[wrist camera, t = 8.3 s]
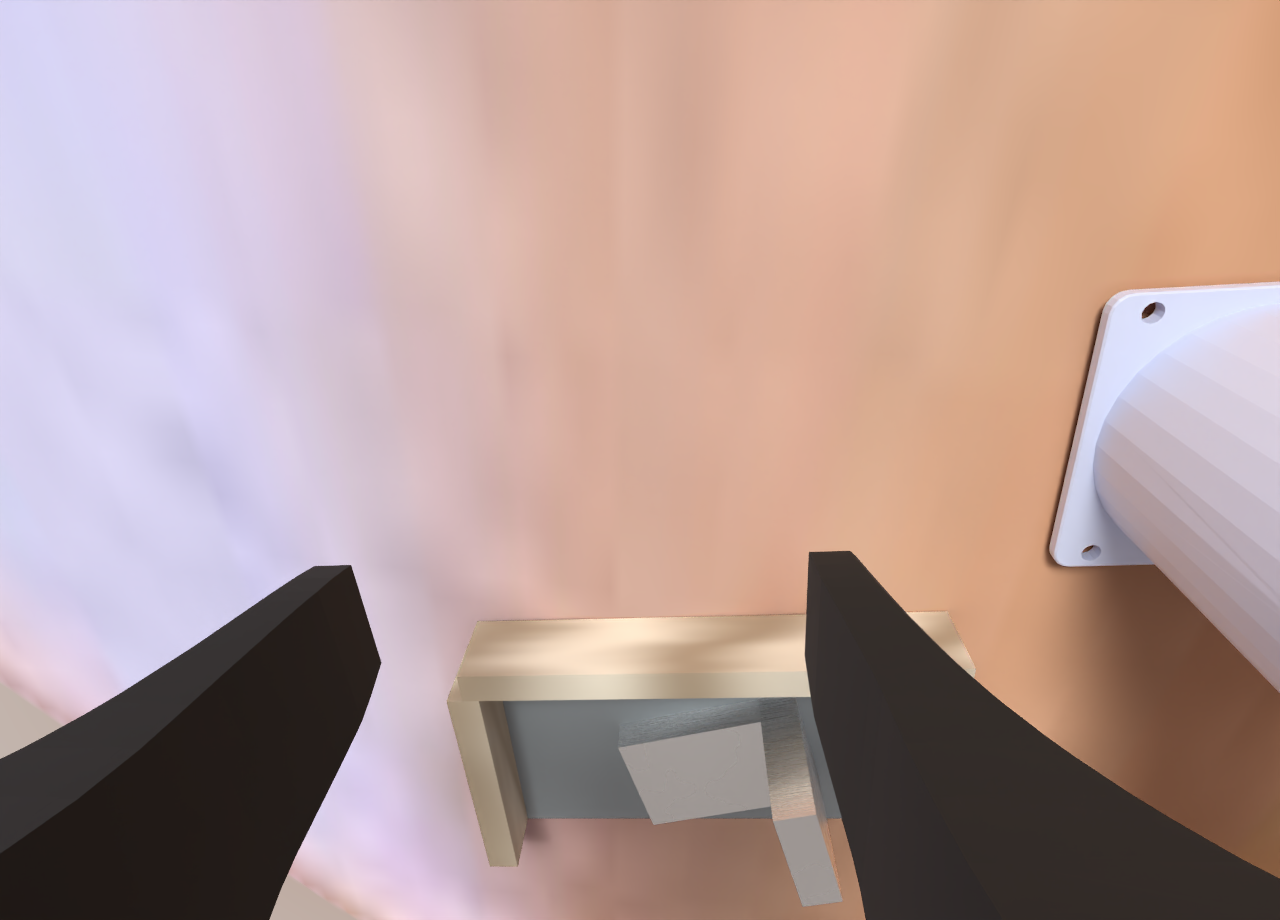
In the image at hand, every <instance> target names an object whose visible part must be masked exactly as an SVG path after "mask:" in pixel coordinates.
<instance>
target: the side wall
mask: <svg viewBox="0 0 1280 920" xmlns="http://www.w3.org/2000/svg"><path fill="white" fill-rule="evenodd" d="M467 648H468V647H467ZM466 650H467V649H466ZM465 653H466V652H465ZM464 656H465V654H464ZM463 658H464V657H463ZM462 661H463V660H462ZM461 664H462V662H461ZM460 666H461V665H460ZM459 669H460V668H459ZM458 672H459V670H458ZM457 674H458V673H457ZM447 705H448V709H449V712H450V716H451V720H452V724H453V728H454V731H455V735H456V739H457V743H458V747H459V750H460V754H461V758H462V762H463V766H464V769H465V773H466V777H467V781H468V785H469V788H470V792H471V796H472V800H473V803H474V807H475V811H476V815H477V819H478V822H479V826H480V830H481V834H482V838H483V841H484V845H485V849H486V853H487V857H488V860H489V864H490V866H502V867H518V863H519V858H520V853H521V849H522V844H523V839H524V834H525V830H526V825H527V820H528V817H527V812H526V807H525V803H524V798H523V794H522V789H521V784H520V780H519V775H518V770H517V766H516V761H515V756H514V752H513V747H512V742H511V738H510V733H509V729H508V724H507V719H506V715H505V710H504V705H503V701H462V697H461V693H460V689H459V685H458V681H457V676H456V678H455V681H454V683H453V686H452V689H451V691H450V694H449V697H448V699H447Z"/></svg>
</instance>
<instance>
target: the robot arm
mask: <svg viewBox="0 0 1280 920" xmlns="http://www.w3.org/2000/svg"><path fill="white" fill-rule="evenodd" d="M1154 302H1156V308H1155V310H1154V312H1153V313H1152V314H1151V315H1150V316H1149V317H1147V318H1143V319H1142V312H1143V310H1144V308H1145V307H1147V306H1148V305H1149V304H1151V303H1154ZM1091 545H1094V546H1093V548H1092V549H1091V550H1089V551H1088V552H1083V553H1082V551H1083V550H1084V549H1085V548H1086V547H1088V546H1091ZM1049 552H1050V554H1051V556H1052V557H1053V558H1054V560H1055V561H1056V562H1057V563H1058V564H1060V565H1062V566H1067V567H1076V566H1115V565H1153V564H1155V565H1156V566H1157V567H1158V568H1159V569H1160V570H1161V571H1162V572H1163V573H1164V574H1165V575H1166V577H1167V578H1168V579H1169V580H1170V581H1171V582H1172V583H1173V584H1174V585H1175V586H1176V587H1177V588H1178V589H1179V590H1180V591H1181V592H1182V593H1183V594H1184V595H1185V596H1186V597H1187V598H1188V599H1189V600H1190V601H1191V602H1192V603H1193V604H1194V605H1195V606H1196V607H1197V608H1198V609H1199V610H1200V612H1201V613H1202V614H1203V615H1204V616H1205V617H1206V618H1207V619H1208V620H1209V621H1210V622H1211V623H1212V624H1213V625H1214V626H1215V627H1216V628H1217V629H1218V630H1219V631H1220V632H1221V633H1222V634H1223V635H1224V636H1225V637H1226V638H1227V639H1228V640H1229V641H1230V642H1231V643H1232V644H1233V645H1234V647H1235V648H1236V649H1237V650H1238V651H1239V652H1240V653H1241V654H1242V655H1243V656H1244V657H1245V658H1246V659H1247V660H1248V661H1249V662H1250V663H1251V664H1252V665H1253V666H1254V667H1255V668H1256V669H1257V670H1258V671H1259V672H1260V673H1261V674H1262V675H1263V676H1264V677H1265V678H1266V679H1267V680H1268V681H1269V683H1270V684H1271V685H1272V686H1273V687H1274V688H1275V689H1276V690H1277V691H1278V692H1279V693H1280V282H1263V283H1245V284H1227V285H1208V286H1190V287H1172V288H1153V289H1135V290H1126V291H1122V292H1119V293H1117V294H1116V295H1114V296H1112V297H1111V298H1110V300H1109V301H1108V302H1107V303H1106V304H1105V307H1104V309H1103V312H1102V316H1101V321H1100V325H1099V329H1098V334H1097V338H1096V343H1095V347H1094V352H1093V356H1092V360H1091V365H1090V369H1089V374H1088V378H1087V383H1086V387H1085V391H1084V396H1083V400H1082V405H1081V409H1080V414H1079V418H1078V422H1077V427H1076V431H1075V436H1074V440H1073V445H1072V449H1071V453H1070V458H1069V462H1068V467H1067V471H1066V476H1065V480H1064V484H1063V489H1062V493H1061V498H1060V502H1059V507H1058V511H1057V515H1056V520H1055V524H1054V529H1053V533H1052V538H1051V542H1050V546H1049ZM805 662H806V669H807V675H808V682H809V689H810V695H811V701H812V708H813V714H814V719H815V722H816V726H817V730H818V734H819V737H820V741H821V745H822V748H823V752H824V756H825V759H826V763H827V767H828V770H829V774H830V777H831V781H832V785H833V788H834V792H835V795H836V799H837V803H838V806H839V810H840V813H841V817H842V821H843V824H844V828H845V831H846V835H847V839H848V842H849V846H850V849H851V853H852V857H853V861H854V865H855V869H856V873H857V878H858V882H859V886H860V891H861V896H862V901H863V907H864V912H865V918H866V920H1280V879H1279V878H1277V877H1275V876H1273V875H1271V874H1269V873H1267V872H1265V871H1264V870H1262V869H1260V868H1258V867H1256V866H1254V865H1252V864H1250V863H1248V862H1246V861H1244V860H1242V859H1241V858H1239V857H1237V856H1235V855H1233V854H1232V853H1230V852H1228V851H1226V850H1224V849H1223V848H1221V847H1219V846H1218V845H1216V844H1214V843H1212V842H1211V841H1209V840H1207V839H1205V838H1204V837H1202V836H1200V835H1198V834H1197V833H1195V832H1193V831H1192V830H1190V829H1188V828H1186V827H1185V826H1183V825H1181V824H1179V823H1178V822H1176V821H1174V820H1172V819H1171V818H1169V817H1167V816H1166V815H1164V814H1162V813H1161V812H1159V811H1158V810H1156V809H1154V808H1153V807H1151V806H1149V805H1148V804H1146V803H1145V802H1143V801H1141V800H1140V799H1138V798H1136V797H1135V796H1133V795H1132V794H1130V793H1128V792H1127V791H1125V790H1124V789H1122V788H1121V787H1119V786H1118V785H1116V784H1115V783H1113V782H1112V781H1110V780H1109V779H1107V778H1106V777H1104V776H1103V775H1101V774H1100V773H1098V772H1097V771H1095V770H1094V769H1092V768H1091V767H1089V766H1088V765H1086V764H1085V763H1083V762H1082V761H1080V760H1079V759H1077V758H1076V757H1074V756H1073V755H1071V754H1070V753H1069V752H1067V751H1066V750H1064V749H1063V748H1062V747H1060V746H1059V745H1057V744H1056V743H1055V742H1053V741H1052V740H1050V739H1049V738H1048V737H1046V736H1045V735H1044V734H1042V733H1041V732H1040V731H1038V730H1037V729H1036V728H1034V727H1033V726H1032V725H1031V724H1029V723H1028V722H1027V721H1025V720H1024V719H1023V718H1022V717H1020V716H1019V715H1018V714H1016V713H1015V712H1014V711H1012V710H1011V709H1010V708H1009V707H1007V706H1006V705H1005V704H1003V703H1002V702H1001V701H1000V700H999V699H997V698H996V697H995V696H994V695H992V694H991V693H990V692H989V691H988V690H987V689H985V688H984V687H983V686H982V685H981V684H980V683H979V682H977V681H976V680H975V679H974V678H973V677H972V676H971V675H970V674H969V673H967V672H966V671H965V670H964V669H963V668H962V667H961V666H960V665H959V664H957V663H956V662H955V661H954V660H953V659H952V658H951V657H950V656H949V655H948V654H947V653H946V652H945V651H944V650H943V649H942V648H941V647H940V646H939V645H938V644H937V643H936V642H935V641H934V640H933V639H932V638H931V637H930V636H929V635H928V634H927V633H926V632H925V631H924V630H923V629H922V628H921V627H920V626H919V625H918V624H917V623H916V622H915V621H914V620H913V619H912V618H911V617H910V616H909V615H908V614H907V613H906V612H905V611H904V610H903V609H902V608H901V607H900V605H899V604H898V603H897V602H896V601H895V600H894V599H893V598H892V597H891V596H890V595H889V593H888V592H887V591H886V590H885V589H884V588H883V587H882V586H881V584H880V583H879V582H878V581H877V580H876V579H875V578H874V577H873V575H872V574H871V573H870V572H869V571H868V570H867V568H866V567H865V566H864V565H863V564H862V563H861V562H860V560H859V559H858V558H857V557H856V556H855V555H854V554H853V553H852V552H851V551H832V552H809V565H808V588H807V611H806V634H805ZM380 665H381V660H380V657H379V654H378V651H377V647H376V644H375V641H374V638H373V634H372V631H371V628H370V625H369V622H368V618H367V615H366V612H365V609H364V605H363V602H362V599H361V596H360V592H359V589H358V586H357V583H356V580H355V576H354V573H353V570H352V567H351V565H339V566H314V567H312V568H311V569H309V570H307V571H305V572H304V573H302V574H300V575H299V576H297V577H295V578H294V579H292V580H291V581H289V582H288V583H286V584H285V585H283V586H282V587H280V588H279V589H277V590H276V591H274V592H273V593H271V594H270V595H268V596H267V597H265V598H264V599H262V600H261V601H259V602H258V603H257V604H255V605H254V606H252V607H251V608H249V609H248V610H246V611H245V612H243V613H242V614H241V615H239V616H238V617H236V618H235V619H233V620H232V621H230V622H229V623H227V624H226V625H224V626H223V627H222V628H220V629H219V630H217V631H216V632H214V633H213V634H211V635H210V636H208V637H207V638H205V639H204V640H203V641H201V642H200V643H198V644H197V645H195V646H194V647H192V648H191V649H189V650H188V651H186V652H184V653H183V654H181V655H180V656H178V657H177V658H175V659H174V660H172V661H170V662H169V663H167V664H166V665H164V666H163V667H161V668H159V669H158V670H156V671H155V672H153V673H152V674H150V675H149V676H147V677H145V678H144V679H142V680H141V681H139V682H138V683H136V684H134V685H133V686H131V687H130V688H128V689H127V690H125V691H123V692H122V693H120V694H118V695H117V696H115V697H114V698H112V699H110V700H109V701H107V702H105V703H103V704H102V705H100V706H98V707H97V708H95V709H93V710H91V711H90V712H88V713H86V714H84V715H83V716H81V717H79V718H77V719H75V720H74V721H72V722H70V723H68V724H66V725H65V726H63V727H61V728H59V729H57V730H55V731H54V732H52V733H50V734H48V735H46V736H45V737H43V738H41V739H39V740H37V741H35V742H33V743H31V744H30V745H28V746H26V747H24V748H22V749H20V750H18V751H16V752H14V753H12V754H10V755H8V756H6V757H4V758H1V759H0V920H269V919H270V916H271V914H272V911H273V908H274V906H275V903H276V900H277V898H278V895H279V893H280V890H281V888H282V885H283V883H284V881H285V879H286V877H287V874H288V872H289V870H290V868H291V865H292V863H293V861H294V859H295V856H296V854H297V852H298V850H299V848H300V846H301V844H302V842H303V840H304V838H305V836H306V834H307V832H308V830H309V828H310V826H311V824H312V822H313V820H314V818H315V816H316V814H317V812H318V810H319V808H320V806H321V804H322V802H323V800H324V798H325V796H326V794H327V792H328V790H329V788H330V786H331V784H332V782H333V780H334V778H335V776H336V774H337V772H338V770H339V768H340V766H341V764H342V762H343V760H344V758H345V756H346V754H347V751H348V749H349V747H350V745H351V743H352V741H353V739H354V737H355V735H356V733H357V731H358V729H359V726H360V724H361V722H362V720H363V717H364V714H365V711H366V708H367V705H368V703H369V700H370V697H371V694H372V691H373V688H374V685H375V681H376V678H377V675H378V672H379V669H380Z"/></svg>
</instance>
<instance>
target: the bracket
mask: <svg viewBox="0 0 1280 920" xmlns="http://www.w3.org/2000/svg"><path fill="white" fill-rule="evenodd" d="M618 749H619V751H620V753H621V755H622V758H623V760H624V762H625V764H626V766H627V768H628V771H629V773H630V775H631V777H632V779H633V781H634V784H635V786H636V788H637V790H638V792H639V795H640V797H641V799H642V801H643V803H644V805H645V808H646V810H647V812H648V814H649V816H650V818H651V821H652V823H653V825H657V824H663V823H669V822H676V821H682V820H688V819H694V818H701V817H707V816H713V815H720V814H726V813H732V812H738V811H745V810H751V809H757V808H764V807H770V806H771V810H772V818H773V823H774V826H775V829H776V832H777V835H778V837H779V840H780V843H781V846H782V849H783V852H784V855H785V857H786V860H787V863H788V866H789V869H790V872H791V875H792V878H793V880H794V883H795V886H796V889H797V892H798V895H799V898H800V900H801V903H802V906H803V907H805V906H813V905H820V904H828V903H835V902H843V899H842V894H841V889H840V884H839V878H838V873H837V868H836V863H835V858H834V853H833V848H832V842H831V837H830V832H829V827H828V822H827V817H826V812H825V806H824V801H823V796H822V791H821V786H820V781H819V776H818V771H817V768H816V765H815V761H814V758H813V754H812V751H811V748H810V744H809V741H808V737H807V734H806V731H805V727H804V724H803V720H802V717H801V714H800V710H799V707H798V703H797V700H796V697H763V698H757V699H752V700H746V701H741V702H736V703H730V704H725V705H720V706H714V707H709V708H704V709H698V710H693V711H688V712H682V713H677V714H671V715H666V716H661V717H655V718H650V719H645V720H639V721H634V722H629V723H623V724H620V732H619V743H618Z"/></svg>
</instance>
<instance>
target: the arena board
mask: <svg viewBox="0 0 1280 920" xmlns="http://www.w3.org/2000/svg"><path fill="white" fill-rule="evenodd" d="M752 699H757V698H686V699H608V700H530V701H503V705H504V710H505V715H506V719H507V724H508V729H509V733H510V738H511V742H512V747H513V752H514V756H515V761H516V766H517V770H518V775H519V780H520V784H521V789H522V794H523V798H524V803H525V807H526V812H527V817H528V818H650V816H649V814H648V812H647V810H646V808H645V805H644V803H643V801H642V799H641V797H640V795H639V792H638V790H637V788H636V786H635V784H634V781H633V779H632V777H631V775H630V773H629V771H628V768H627V766H626V764H625V762H624V760H623V758H622V755H621V753H620V751H619V749H618V743H619V732H620V724H623V723H629V722H634V721H639V720H645V719H650V718H655V717H661V716H666V715H671V714H677V713H682V712H688V711H693V710H698V709H704V708H709V707H714V706H720V705H725V704H730V703H736V702H741V701H746V700H752ZM796 700H797V703H798V707H799V710H800V714H801V717H802V720H803V724H804V727H805V731H806V734H807V737H808V741H809V744H810V748H811V751H812V754H813V758H814V761H815V765H816V768H817V771H818V776H819V781H820V786H821V791H822V796H823V801H824V806H825V812H826V817H827V818H842V817H841V813H840V810H839V806H838V803H837V799H836V795H835V792H834V788H833V785H832V781H831V777H830V774H829V770H828V767H827V763H826V759H825V756H824V752H823V748H822V745H821V741H820V737H819V734H818V730H817V726H816V722H815V719H814V714H813V708H812V701H811V697H796ZM701 818H772V810H771V806H770V807H764V808H757V809H751V810H745V811H738V812H732V813H726V814H720V815H713V816H707V817H701Z"/></svg>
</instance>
